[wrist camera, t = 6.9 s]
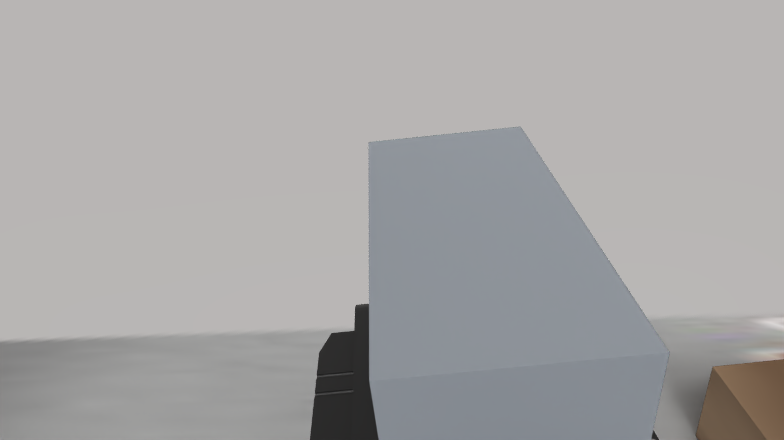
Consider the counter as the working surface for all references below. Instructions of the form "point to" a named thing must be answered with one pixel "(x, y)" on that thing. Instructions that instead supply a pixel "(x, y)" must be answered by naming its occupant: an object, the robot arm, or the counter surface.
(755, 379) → the rack
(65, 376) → the counter surface
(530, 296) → the domino
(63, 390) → the counter surface
